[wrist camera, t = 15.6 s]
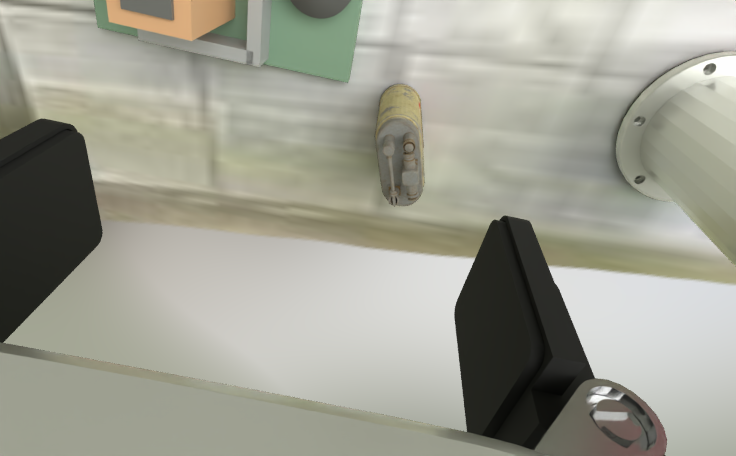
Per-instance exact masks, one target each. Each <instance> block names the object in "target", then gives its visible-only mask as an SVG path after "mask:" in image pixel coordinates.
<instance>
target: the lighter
mask: <svg viewBox="0 0 736 456" xmlns="http://www.w3.org/2000/svg"><path fill="white" fill-rule="evenodd" d="M379 106H380V109H379V114H378V120H377V126H376V132H375V141H376V149H377V157H378V164H379V172H380V180H381V186H382V192H383V194H384V196H385V197H386V199H387V200H388V201H389V204H391V205H394V207H395V205H398V206H408V205H411V204H413V203H414V202H416V201H417V200H418V199H419V197H420V196H421V194H422V191H423V187H424V183H425V178H424V158H423V148H424V144H423V129H422V113H421V99H420V97H419V95H418V93H417V92H416V91H415V90H414V89H413V88H412V87H410V86H408V85H404V84H397V85H393V86H391V87H389V88H388V89H387V90H386V91H385V92H384V93H383V95H382V96H381V99H380V103H379Z"/></svg>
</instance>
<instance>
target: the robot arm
mask: <svg viewBox="0 0 736 456" xmlns="http://www.w3.org/2000/svg"><path fill="white" fill-rule="evenodd" d="M705 66H706V67H705ZM704 67H705V68H704ZM637 117H638V118H637ZM636 118H637V119H636ZM616 159H617V162H618V166H619V169H620V171H621V172H622V174H623V176H624V177H625V179H626V180H627V181H628V182H629V184H630V185H631V186H632V187H633V188H635V189H636V190H637V191H639V192H640V193H641V194H643V195H646V196H648V197H650V198H653V199H657V200H661V201H667V202H675V203H676V204H677V205H678V206H679V207H680V208H681V209H682V210H683V211H684V212H685V214H686V215H687V216H688V217H689V218H690V219H691V220H692V221H693V222H694V223H695V224H696V225H697V226H698V227H699V228H700V229H701V230H702V232H703V233H704V234H705V235H706V236H707V237H708V238H709V239H710V240H711V241H712V242H713V243H714V244H715V245H716V246H717V247H718V248H719V249H720V251H721V252H722V253H723V254H724V255H725V256H726V257H727V258H728V259H729V260H730V261H731V262H732V263H733V264H734V265H735V266H736V52H734V51H725V52H719V53H713V54H708V55H704V56H701V57H698V58H695V59H692V60H690V61H687V62H685V63H683V64H681V65H679V66H677V67H675V68H673V69H672V70H670V71H669V72H667V73H666V74H664V75H663V76H661V77H660V78H658V79H657V80H656V81H655V82H654V83H652V84H651V85H650V86H649V87H648V88H647V89H646V90H645V91H643V93H642V94H641V95H640V96H639V97H638V99H637V100H636V101H635V102H634V103H633V104H632V106H631V108H630V109H629V111H628V112H627V114H626V116H625V117H624V119H623V122H622V124H621V127H620V129H619V132H618V136H617V142H616ZM101 237H102V226H101V221H100V215H99V210H98V205H97V200H96V195H95V190H94V185H93V180H92V175H91V170H90V165H89V160H88V155H87V149H86V144H85V140H84V137H83V136H82V134H80V133H78V132H77V130H76V128H75V127H74V126H73V125H71V124H67V123H62V122H57V121H53V120H48V119H39V120H36V121H35V122H33V123H31V124H29V125H27V126H25V127H23V128H21V129H19V130H17V131H16V132H14V133H12V134H10V135H8V136H6V137H4V138H2V139H0V456H665V455H664V454H665V452H666V445H667V438H666V435H665V431H664V428H663V426H662V424H661V422H660V420H659V419H658V417H657V416H656V414H655V413H654V412H653V411H652V409H651V408H650V407H649V406H648V405H647V404H646V402H644V401H643V400H642V399H641V398H640V397H638V396H637V395H636V394H635V393H633V392H632V391H630V390H628V389H627V388H625V387H623V386H622V385H620V384H617V383H614V382H612V381H609V380H604V379H596V378H595V377H594V375H593V372H592V370H591V368H590V365H589V362H588V360H587V357H586V355H585V353H584V351H583V348H582V345H581V343H580V340H579V338H578V335H577V333H576V330H575V328H574V325H573V323H572V320H571V318H570V316H569V313H568V311H567V308H566V306H565V303H564V301H563V298H562V296H561V293H560V291H559V289H558V287H557V285H556V284H555V283H554V281H553V278H552V275H551V273H550V270H549V268H548V265H547V263H546V260H545V258H544V255H543V253H542V250H541V248H540V245H539V243H538V240H537V238H536V235H535V233H534V230H533V228H532V225H531V223H530V222H529V221H528V220H523V219H519V218H514V217H509V216H503V217H502V218H501V219H500V221H498V220H493V221H492V222H491V224H490V226H489V229H488V231H487V233H486V235H485V238H484V240H483V242H482V245H481V247H480V249H479V252H478V254H477V256H476V258H475V261H474V263H473V265H472V268H471V270H470V272H469V275H468V277H467V279H466V281H465V284H464V286H463V288H462V291H461V293H460V295H459V298H458V300H457V302H456V306H455V325H456V335H457V343H458V353H459V362H460V371H461V380H462V389H463V397H464V407H465V416H466V425H467V432H464V431H459V430H455V429H449V428H445V427H440V426H435V425H430V424H426V423H421V422H416V421H411V420H407V419H402V418H397V417H393V416H387V415H383V414H378V413H372V412H367V411H362V410H357V409H352V408H346V407H341V406H336V405H331V404H326V403H320V402H315V401H310V400H305V399H299V398H295V397H289V396H284V395H279V394H274V393H269V392H263V391H258V390H253V389H248V388H243V387H237V386H232V385H227V384H221V383H216V382H210V381H206V380H200V379H195V378H190V377H184V376H179V375H174V374H168V373H163V372H158V371H152V370H147V369H142V368H136V367H131V366H126V365H120V364H115V363H110V362H104V361H98V360H94V359H88V358H83V357H77V356H72V355H66V354H61V353H55V352H50V351H45V350H39V349H34V348H28V347H23V346H16V345H11V344H6V343H3V342H4V341H5V340H6V339H7V338H8V337H9V336H10V335H11V334H12V333H13V332H14V331H15V330H16V329H17V328H18V326H20V325H21V324H22V323H23V322H24V321H25V319H26V318H27V317H28V316H29V315H30V314H31V313H32V312H33V311H34V310H35V309H36V308H37V307H38V306H39V305H40V304H41V303H42V302H43V301H44V300H45V299H46V298H47V297H48V296H49V295H50V294H51V293H52V292H53V291H54V290H55V289H56V288H57V287H58V285H60V284H61V283H62V282H63V281H64V279H65V278H66V277H67V276H68V275H69V274H70V273H71V272H72V271H73V270H74V269H75V268H76V267H77V266H78V265H79V264H80V263H81V262H82V261H83V260H84V259H85V258H86V257H87V256H88V255H89V254H90V253H91V252H92V251H93V250H94V248H96V246H97V245H98V244H99V243H100V241H101Z"/></svg>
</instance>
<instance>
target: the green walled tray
mask: <svg viewBox="0 0 736 456" xmlns="http://www.w3.org/2000/svg"><path fill="white" fill-rule="evenodd" d="M362 1H363V0H236V1H235V18H234V19H232V20H230V21H228V22H226V23H225V24H223V25H221V26H219V27H217V28H215V29H213V30H211V31H210V32H208V33H206V34H204V35H202V36H200V37H198V38H197V39H195V40H193V41H190V40H185V39H181V38H177V37H172V36H168V35H164V34H159V33H155V32H150V31H146V30H142V29H137V28H133V27H129V26H124V25H120V24H116V23H111V22H109V18H108V11H107V3H106V0H94V6H95V12H96V19H97V25H98V28H102V29H107V30H111V31H116V32H120V33H125V34H129V35H134V36H138V41H143V42H147V43H152V44H157V45H161V46H166V47H170V48H175V49H179V50H184V51H188V52H193V53H197V54H202V55H207V56H211V57H216V58H220V59H225V60H229V61H234V62H238V63H243V64H247V65H252V66H257V67H260V66H261V65H262V64H265V65H270V66H275V67H279V68H284V69H288V70H293V71H297V72H302V73H306V74H311V75H315V76H320V77H324V78H329V79H334V80H338V81H343V82H347V83H348V81H349V79H350V73H351V67H352V61H353V55H354V49H355V43H356V37H357V31H358V25H359V19H360V13H361V7H362Z"/></svg>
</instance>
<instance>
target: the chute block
mask: <svg viewBox="0 0 736 456" xmlns="http://www.w3.org/2000/svg"><path fill="white" fill-rule="evenodd" d="M235 1H236V0H106V3H107V11H108V18H109V22H111V23H116V24H120V25H124V26H129V27H133V28H137V29H142V30H146V31H150V32H155V33H159V34H164V35H168V36H172V37H177V38H181V39H185V40H190V41H193V40H195V39H197V38H198V37H200V36H202V35H204V34H206V33H208V32H210V31H211V30H213V29H215V28H217V27H219V26H221V25H223V24H225V23H226V22H228V21H230V20H232V19H234V18H235Z"/></svg>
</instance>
